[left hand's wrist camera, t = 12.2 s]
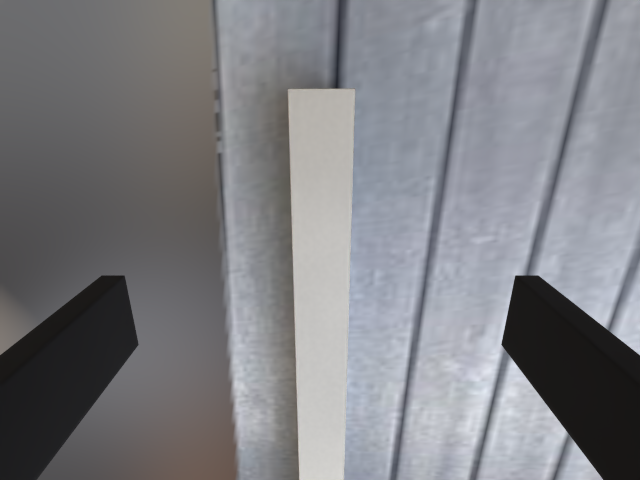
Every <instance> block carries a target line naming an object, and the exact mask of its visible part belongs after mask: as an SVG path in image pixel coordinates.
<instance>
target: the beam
mask: <svg viewBox="0 0 640 480" xmlns="http://www.w3.org/2000/svg"><path fill="white" fill-rule="evenodd" d="M288 116H289V150H290V185H291V219H292V253H293V287H294V321H295V355H296V389H297V423H298V457H299V480H344V460H345V426H346V391H347V357H348V323H349V288H350V254H351V219H352V185H353V150H354V116H355V89H288Z"/></svg>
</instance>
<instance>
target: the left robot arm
mask: <svg viewBox="0 0 640 480" xmlns="http://www.w3.org/2000/svg"><path fill="white" fill-rule="evenodd" d="M137 346H138V340H137V335H136V330H135V325H134V320H133V315H132V310H131V305H130V300H129V295H128V290H127V285H126V280H125V276H101V277H99V278H98V279H97V280H96V281H94V282H93V283H92V284H91V285H89V286H88V287H87V288H85V289H84V290H83V291H82V292H80V293H79V294H78V295H77V296H75V297H74V298H73V299H71V300H70V301H69V302H68V303H66V304H65V305H64V306H62V307H61V308H60V309H59V310H57V311H56V312H55V313H54V314H52V315H51V316H50V317H48V318H47V319H46V320H45V321H43V322H42V323H41V324H40V325H38V326H37V327H36V328H34V329H33V330H32V331H31V332H29V333H28V334H27V335H26V336H24V337H23V338H22V339H20V340H19V341H18V342H17V343H15V344H14V345H13V346H12V347H10V348H9V349H8V350H6V351H5V352H4V353H3V354H1V355H0V480H37V478H38V477H39V476H40V474H41V473H42V472H43V471H44V469H45V468H46V467H47V465H48V464H49V463H50V461H51V460H52V459H53V457H54V456H55V454H56V453H57V452H58V451H59V449H60V448H61V447H62V445H63V444H64V443H65V441H66V440H67V439H68V437H69V436H70V435H71V433H72V432H73V431H74V429H75V428H76V427H77V425H78V424H79V423H80V421H81V420H82V419H83V418H84V416H85V415H86V413H87V412H88V411H89V410H90V408H91V407H92V406H93V404H94V403H95V402H96V400H97V399H98V398H99V396H100V395H101V394H102V392H103V391H104V390H105V388H106V387H107V386H108V384H109V383H110V382H111V380H112V379H113V378H114V376H115V375H116V374H117V372H118V371H119V370H120V368H121V367H122V366H123V365H124V363H125V362H126V361H127V359H128V358H129V357H130V355H131V354H132V353H133V351H134V350H135V349H136V347H137ZM502 346H503V347H504V349H505V350H506V351H507V353H508V354H509V355H510V357H511V358H512V359H513V361H514V362H515V363H516V365H517V366H518V367H519V369H520V370H521V371H522V372H523V374H524V375H525V376H526V378H527V379H528V380H529V382H530V383H531V384H532V386H533V387H534V388H535V390H536V391H537V392H538V394H539V395H540V396H541V398H542V399H543V400H544V402H545V403H546V404H547V406H548V407H549V408H550V410H551V411H552V412H553V414H554V415H555V416H556V418H557V419H558V420H559V421H560V423H561V424H562V425H563V427H564V428H565V429H566V431H567V432H568V433H569V435H570V436H571V437H572V439H573V440H574V441H575V443H576V444H577V445H578V447H579V448H580V449H581V451H582V452H583V453H584V455H585V456H586V457H587V459H588V460H589V461H590V463H591V464H592V465H593V467H594V468H595V469H596V471H597V472H598V473H599V474H600V476H601V477H602V478H603V480H640V355H639V354H637V353H636V352H635V351H634V350H632V349H631V348H630V347H628V346H627V345H626V344H625V343H623V342H622V341H621V340H620V339H618V338H617V337H616V336H614V335H613V334H612V333H611V332H609V331H608V330H607V329H606V328H604V327H603V326H602V325H600V324H599V323H598V322H597V321H595V320H594V319H593V318H592V317H590V316H589V315H588V314H586V313H585V312H584V311H583V310H581V309H580V308H579V307H578V306H576V305H575V304H574V303H572V302H571V301H570V300H569V299H567V298H566V297H565V296H564V295H562V294H561V293H560V292H558V291H557V290H556V289H555V288H553V287H552V286H551V285H550V284H548V283H547V282H546V281H544V280H543V279H542V278H541V277H539V276H515V280H514V285H513V290H512V295H511V300H510V305H509V310H508V315H507V320H506V325H505V330H504V335H503V340H502Z"/></svg>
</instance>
